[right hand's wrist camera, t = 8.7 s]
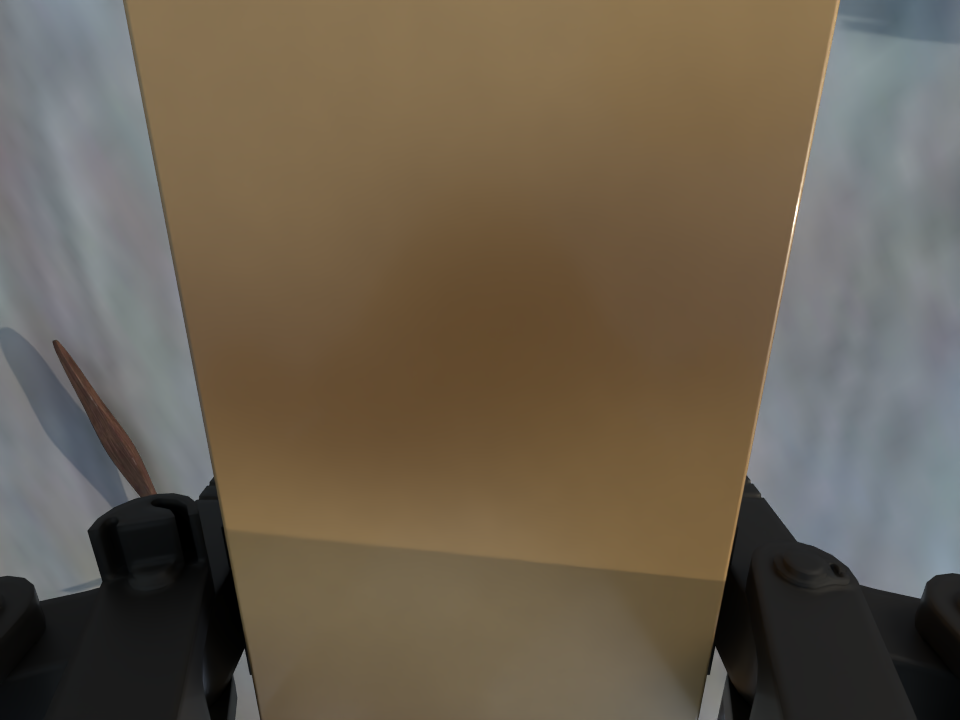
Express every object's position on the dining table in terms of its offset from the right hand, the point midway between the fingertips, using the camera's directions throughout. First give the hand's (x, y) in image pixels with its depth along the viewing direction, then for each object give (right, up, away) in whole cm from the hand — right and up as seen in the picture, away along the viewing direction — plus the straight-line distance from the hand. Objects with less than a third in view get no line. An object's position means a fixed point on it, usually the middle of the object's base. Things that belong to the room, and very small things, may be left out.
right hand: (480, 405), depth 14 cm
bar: (0, +9, -3) cm, 9 cm away
